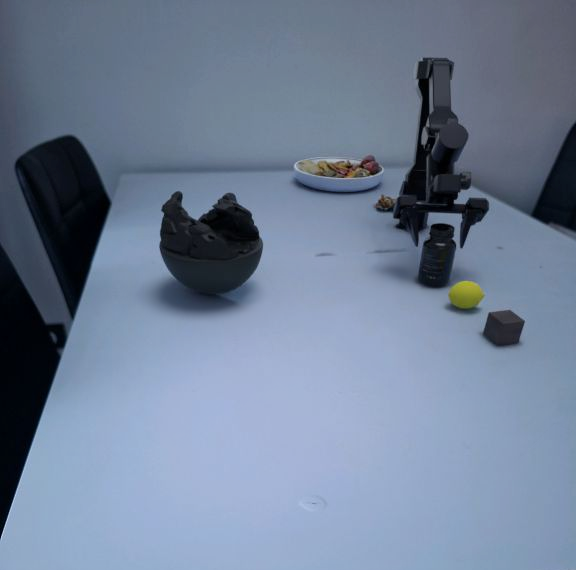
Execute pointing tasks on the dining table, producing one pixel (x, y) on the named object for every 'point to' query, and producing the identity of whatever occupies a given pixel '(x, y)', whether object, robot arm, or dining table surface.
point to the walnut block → (503, 327)
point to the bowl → (339, 173)
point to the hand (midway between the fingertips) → (439, 246)
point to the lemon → (465, 294)
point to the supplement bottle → (437, 256)
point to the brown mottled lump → (385, 202)
